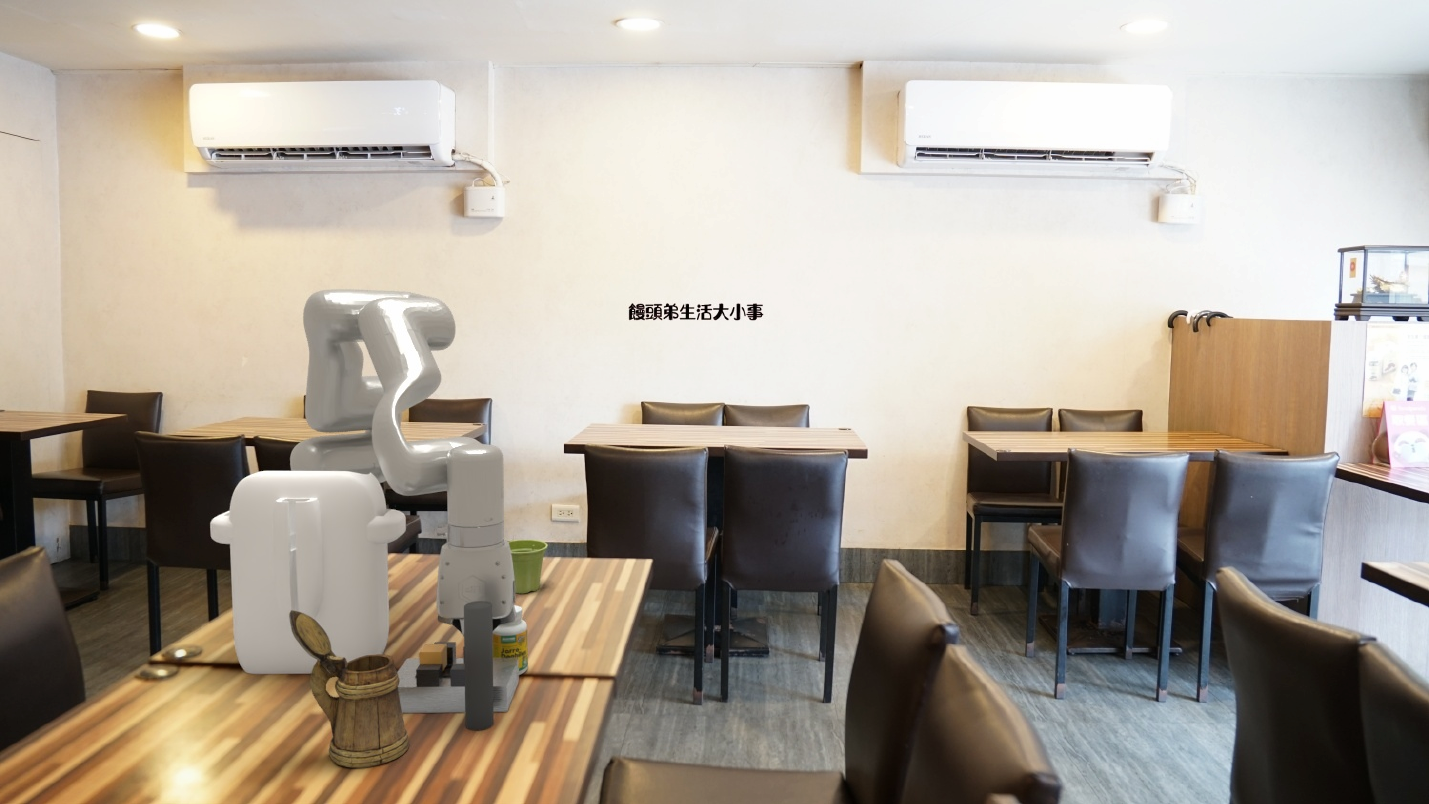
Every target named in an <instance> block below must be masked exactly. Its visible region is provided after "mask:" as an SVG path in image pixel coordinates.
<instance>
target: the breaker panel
mask: <svg viewBox="0 0 1429 804" xmlns="http://www.w3.org/2000/svg"><path fill="white" fill-rule="evenodd" d="M433 644H447V665H446V667H445V668H444V670H443V664H420V660H419V658H406V659H405V661H404V662H403V664H401V666H400V668H399V669H398V670H397V672H398V675H399V680H400V682H399V685H398V691H399V697H400V703H401V709H402V714H421V713H423V714H425V713H426V714H427V713H428V714H429V713H430V714H431V713H433V714H434V713H435V714H436V713H465V664H464V646H463V649H462V650H463V654H462V655H463V656H462V657H457V642H456V641H455V642H453V641H447V642H446V641H445V642H444V641H443V642H437V641H436V642H434V643H433ZM519 680H520V675H519V658H493V710H494V713H498V712H499V713H502V712H503V713H504V712H506V713H507V712H508V710H509V708H510V705H511V703H512V700H513V697H514V695H515V692H516V689H517V687H518V684H519V682H520V681H519Z"/></svg>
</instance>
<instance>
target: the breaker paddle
mask: <svg viewBox="0 0 1429 804" xmlns="http://www.w3.org/2000/svg"><path fill="white" fill-rule="evenodd" d="M418 654H419V658H418V659H419V660H420V664H443V670H444V668H445V667H446V665H447V644H434V643H425V644H424V645H423V646H422V647H421V649H420V651H419V652H418Z"/></svg>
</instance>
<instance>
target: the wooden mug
mask: <svg viewBox="0 0 1429 804" xmlns="http://www.w3.org/2000/svg"><path fill="white" fill-rule="evenodd" d="M289 618H290V625H291V630H292V633H293V635H294V637H295V639H296V640H297V641H298V643H299V644H300V645H301V646H302V648H303V649H304V650H305V651H306V652H307V653H308V654H309V655H310V656H312V657H313V658H315V659H317V662H316V664H315V665H314V667H313V670H312V672H311V673H310V681H309V685H310V689H311V694H312V695H313V697H314V699H315V701H316V703H317V704H318V707H320V709H321V710H322V711H323V712H324V714H325V716H326V718H327V719H328V721H329V724H330V727H331V732H332V737H331V739H330V743H329V748H328V752H329V757H330V758H331V760H332V761H333V762H334V763H335V764H336V765H338V766H340V767H345V768H353V769H354V768H355V769H364V768H371V767H375V766H380V765H383V764H387V763H388V762H391V761H393V760H396V759H398V758H400V757H401V756H403V755H404V754H405V753H406V752H407V750H408V749H409V747H410V739H409V736H408V730H407V729H406V728H405V726H406V725H405V721H404V716H403V715H404V714H403V713H402V709H401V703H400V697H399V691H398V685H399V682H400V680H399V675H398V670H397V668H396V667H395V660H394V658H393V656H391V655H387V654H382V655H381V654H377V655H366V656H362V657H359V658H357V659H354V660H352V661H350V662H348V663H347V661H346V659H345V658H344V657H336V655H335V654H334V653H333V652H332V650H331V643H330V640H329V638H328V635H327V634H326V632H325V631H324V629H323V628H322V627H321V626H320V625H319V624H318V623H317V622H316V621H315V620H314V619H313V618H312V617H310V616H308V615H306V614H304V613H301V612H298V611H293V610H291V611H290V614H289ZM333 678H337V680H336V681H335V684H334V689H335V692H336V693H337V695H338V696H337V697H336V696H333V695H331V694H330V693H329V692H328V690H327V684H328V682H329V680H331V679H333Z"/></svg>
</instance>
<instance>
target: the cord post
mask: <svg viewBox="0 0 1429 804" xmlns="http://www.w3.org/2000/svg"><path fill="white" fill-rule="evenodd" d="M463 647H464V664H465V712H464V713H465V715H464V717H465V718H464V719H465V720H464V722H465V724H464V726H465V729H468V730H471V731H482V730H486V729H489V728H491V727H492V726H494V724H495V723H494V719H495V718H494V717H495V716H494V713H495V712H494V710H493V617H492V603H490V602H486V601H476V602H470V603H467V604H465V605H464V637H463Z"/></svg>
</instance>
